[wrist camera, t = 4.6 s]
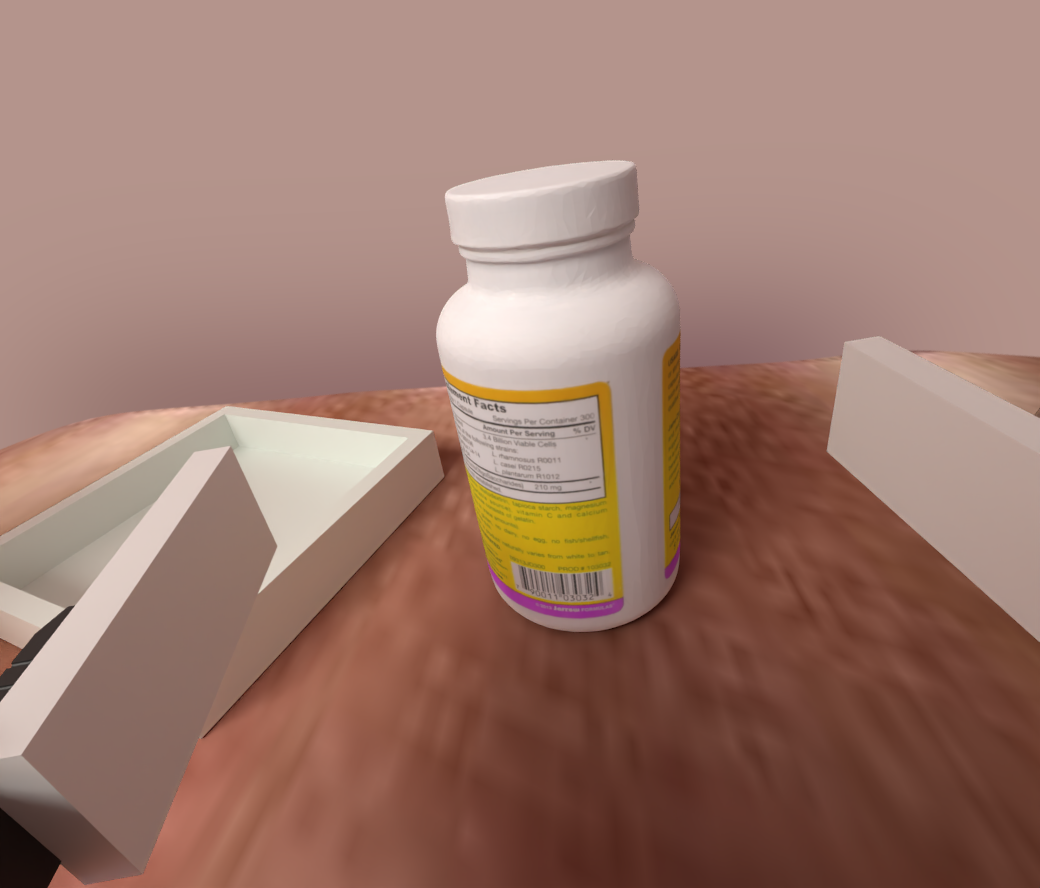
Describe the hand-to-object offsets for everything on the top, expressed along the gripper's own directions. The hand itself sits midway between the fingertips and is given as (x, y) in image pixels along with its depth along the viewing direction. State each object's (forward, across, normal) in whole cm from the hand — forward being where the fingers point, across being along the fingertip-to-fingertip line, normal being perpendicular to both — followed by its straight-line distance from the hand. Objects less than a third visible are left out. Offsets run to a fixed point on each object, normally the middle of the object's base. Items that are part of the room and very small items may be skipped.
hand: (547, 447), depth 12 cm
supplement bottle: (+4, +1, -8) cm, 9 cm away
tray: (+10, -13, -8) cm, 18 cm away
